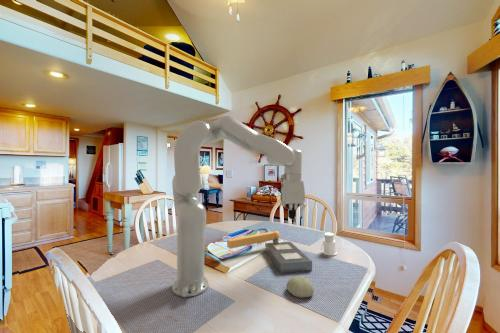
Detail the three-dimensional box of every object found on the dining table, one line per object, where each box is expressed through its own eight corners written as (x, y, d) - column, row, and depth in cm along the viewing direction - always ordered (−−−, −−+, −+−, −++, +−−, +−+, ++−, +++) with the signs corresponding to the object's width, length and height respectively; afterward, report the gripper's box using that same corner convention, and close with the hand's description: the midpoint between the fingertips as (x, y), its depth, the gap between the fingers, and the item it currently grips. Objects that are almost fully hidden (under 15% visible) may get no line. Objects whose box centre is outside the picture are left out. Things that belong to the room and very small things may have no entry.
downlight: (335, 250, 117) (335, 231, 117) (339, 256, 110) (339, 236, 110) (320, 250, 117) (319, 231, 117) (323, 256, 110) (322, 236, 110)
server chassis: (311, 270, 94) (312, 259, 94) (280, 273, 91) (281, 262, 91) (286, 245, 123) (286, 237, 123) (262, 247, 120) (262, 238, 120)
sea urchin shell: (292, 276, 85) (306, 266, 82) (305, 296, 82) (320, 287, 78) (280, 286, 78) (294, 275, 74) (293, 308, 75) (310, 298, 71)
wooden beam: (230, 249, 104) (230, 241, 104) (226, 246, 107) (226, 239, 107) (280, 238, 120) (280, 232, 120) (276, 236, 123) (276, 230, 123)
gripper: (279, 177, 93) (278, 221, 93) (312, 178, 96) (311, 220, 96) (274, 176, 100) (273, 217, 101) (304, 177, 104) (303, 216, 104)
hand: (291, 218), depth 98 cm, fingers closed
